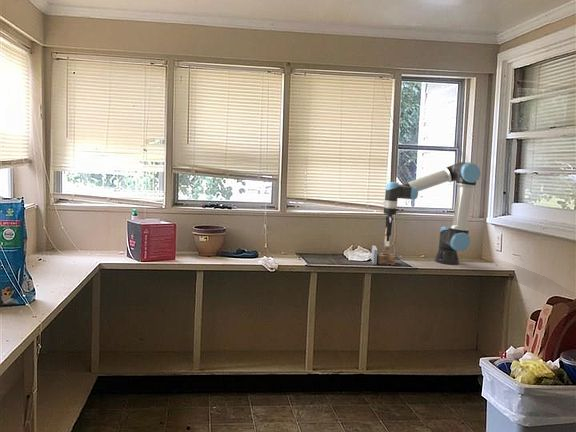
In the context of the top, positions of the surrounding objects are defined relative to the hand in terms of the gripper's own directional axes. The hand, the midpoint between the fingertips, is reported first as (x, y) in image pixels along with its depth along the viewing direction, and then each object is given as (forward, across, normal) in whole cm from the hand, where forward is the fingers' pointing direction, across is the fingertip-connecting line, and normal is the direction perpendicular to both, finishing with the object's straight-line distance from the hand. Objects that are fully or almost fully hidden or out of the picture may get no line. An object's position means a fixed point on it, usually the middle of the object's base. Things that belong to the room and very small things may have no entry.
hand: (386, 245), depth 370 cm
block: (+11, 0, 0) cm, 11 cm away
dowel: (+2, 0, 0) cm, 2 cm away
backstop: (+11, 0, -7) cm, 13 cm away
